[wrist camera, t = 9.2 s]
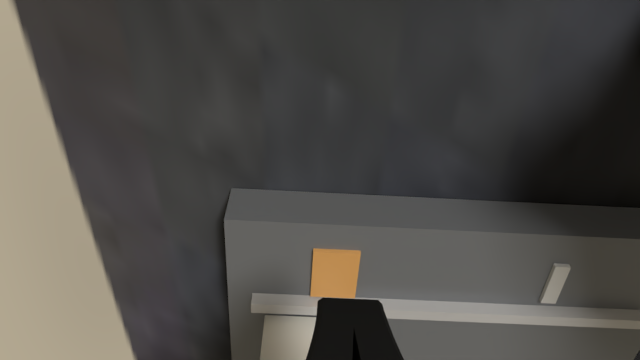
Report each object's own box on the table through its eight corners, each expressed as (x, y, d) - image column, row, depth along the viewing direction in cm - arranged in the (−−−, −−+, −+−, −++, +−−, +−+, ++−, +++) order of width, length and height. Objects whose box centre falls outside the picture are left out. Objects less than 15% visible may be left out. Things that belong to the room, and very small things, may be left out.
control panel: (675, 209, 22) (713, 253, 20) (567, 411, 30) (586, 457, 28) (231, 188, 22) (221, 229, 19) (240, 398, 30) (234, 444, 27)
